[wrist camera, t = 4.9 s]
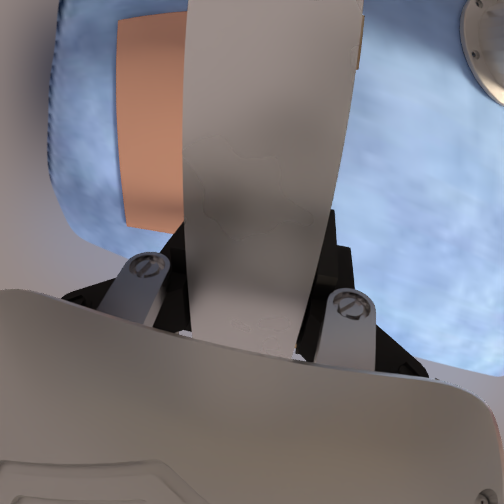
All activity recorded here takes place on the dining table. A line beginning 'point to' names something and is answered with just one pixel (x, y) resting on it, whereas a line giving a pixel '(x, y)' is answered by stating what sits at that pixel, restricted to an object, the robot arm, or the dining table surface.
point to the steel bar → (261, 159)
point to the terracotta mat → (151, 119)
